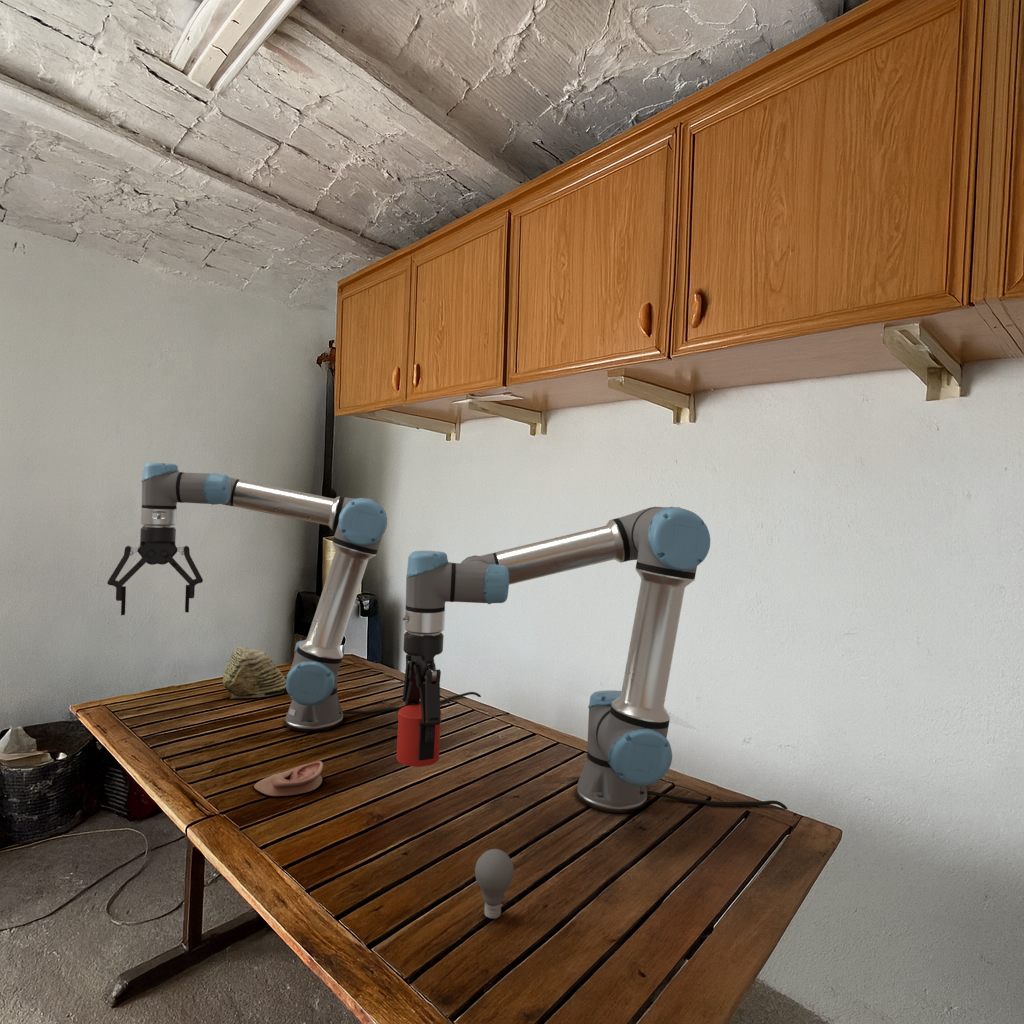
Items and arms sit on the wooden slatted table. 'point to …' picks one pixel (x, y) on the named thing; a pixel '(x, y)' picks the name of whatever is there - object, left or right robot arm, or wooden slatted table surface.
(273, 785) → the anatomical model
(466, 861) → the wooden slatted table surface
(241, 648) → the fossil
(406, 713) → the canister
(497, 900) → the light bulb
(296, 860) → the wooden slatted table surface
